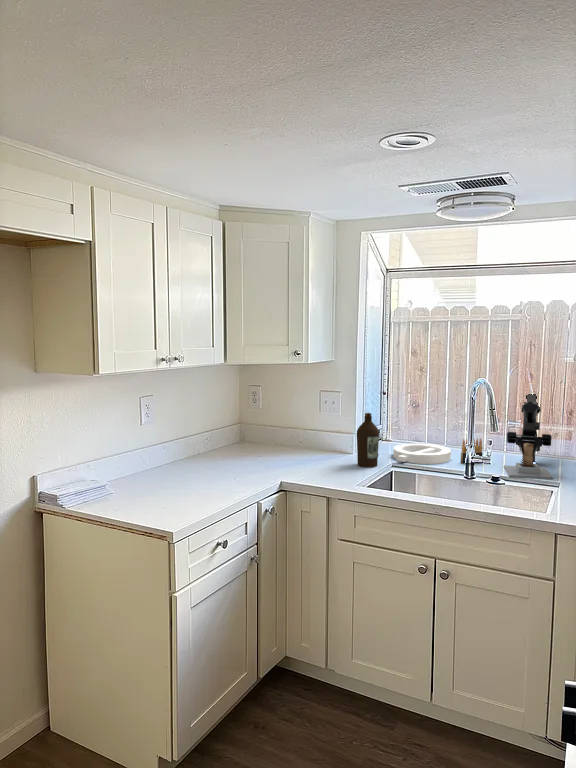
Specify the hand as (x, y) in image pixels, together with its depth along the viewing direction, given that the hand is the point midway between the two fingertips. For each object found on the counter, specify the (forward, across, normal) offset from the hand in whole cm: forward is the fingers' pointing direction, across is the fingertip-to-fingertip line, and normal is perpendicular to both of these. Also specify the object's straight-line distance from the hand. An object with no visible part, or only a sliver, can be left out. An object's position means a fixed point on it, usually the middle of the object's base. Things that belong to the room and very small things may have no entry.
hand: (528, 454), depth 266 cm
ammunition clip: (-3, -25, +16) cm, 30 cm away
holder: (+5, 0, +7) cm, 9 cm away
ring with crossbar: (-4, -50, +17) cm, 53 cm away
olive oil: (+15, -71, -2) cm, 72 cm away
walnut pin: (+4, 0, +6) cm, 7 cm away
